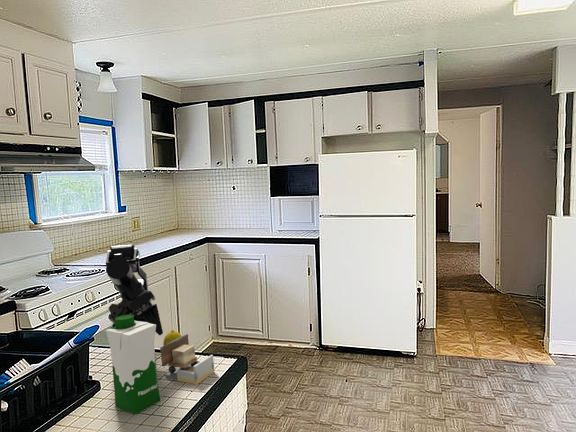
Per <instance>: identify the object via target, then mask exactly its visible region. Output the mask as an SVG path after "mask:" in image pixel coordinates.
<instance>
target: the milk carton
mask: <svg viewBox="0 0 576 432" xmlns="http://www.w3.org/2000/svg"><path fill="white" fill-rule="evenodd" d="M115 325H116V326H115V327H113V328H111V329H110V328H109V329H108V328H107V329H106V330H105V331H106V336H107V340H108V345H109V348H110V355H111V356H110V357H111V368H112V376H113V387H114V388H113V390H114V405H115V408H116V409H118V410H122V411H124V412H127V413H130V414H133V415H135V416H137V415H139V414H141V413H142V412H144V411H146V410H147V409H149V408H151V407H152V406H154V405H156V404H157V403H159V402H161V401H162V398H161V393H160V388H159V387H160V386H159V383H158V375H157V363H156V361H157V360H156V352H155V337H156V332H155V330H156V324H150V323H148V322H141V321H135V320H134V316H133V315H130V314H127V315H121V316H118V317H116V318H115Z"/></svg>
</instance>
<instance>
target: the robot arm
mask: <svg viewBox="0 0 576 432" xmlns="http://www.w3.org/2000/svg"><path fill="white" fill-rule="evenodd" d="M140 256H141V255H140V251H139V248H138V247H136V246H135V245H134V243H133V244H132V243H131V244H121V245H119V244H118V245H111V246H110V247H109V249H108V250H107V253H106V258H105V266H106V268H105V272H106V274H107V276H108V278H109V279H110V281H111V283H112V284H113V286H114V287H115V289H116V290H117V292H118V293H119V295H120V298H121V301H120V302H118V303H117V304H116V303H111V304H110V306H108V311H109V312H110V314H108V318H107V319H108V320H109V321H110V322H112V324H110V327H109V329H111V328H113V327H115V326H116V325H115V318H116V317H118V316H121V315H127V314H130V315H133V316H134V320H135V321H141V322H148V323H150V324H156V330H155V334H157V335H158V336H162V335H163V334H164V333H163V332H164V330H163V327H162V323H161V318H160V313H159V309H158V304H157V303H155V304H153V303H152V301H153V302H154V301H155V300H156V297H155V295H154V293H153V291H151V290H149V285H148V283H149V282H148V278H147V273H146V271H144V270H143V269H142V267H141V266H140ZM134 273H135V274H136V273H137V275H138V276H139V277H140V278H137V277H136V275H135V274H134Z"/></svg>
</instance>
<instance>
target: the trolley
mask: <svg viewBox="0 0 576 432" xmlns="http://www.w3.org/2000/svg"><path fill="white" fill-rule="evenodd" d="M181 336H182V337H180V338H178V339H176V340H174V341H172V342H170V343H168V344H166V345H165V346H164V345H163V346H161V347H159V349H160V360H161V367H165V366H167V365H168V366H169V368H168V372H170V373H174V372H175V371H176V367H180V369H179V370H185V368H186V367H187V366H189V365H190V364H191V366H192V367H193V366H194V365H196V364H198V363H197V360H198V357H197V356H196V351H195V349H196V348H195V345H192V344H191V345H190V344H189V343H190V342H189V334H187V333H186V334H184V335H181ZM185 371H186V370H185Z"/></svg>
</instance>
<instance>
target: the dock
mask: <svg viewBox="0 0 576 432" xmlns="http://www.w3.org/2000/svg"><path fill="white" fill-rule="evenodd" d="M214 360H215V359H214V355H213V354H210V355H208V356H207V357H206V358H204V359H203V360H201V359H197V363H198V364H196V365H194V366H193V367H192V366H191V364H190V365H189V366H187V367H186V368H185V370H186V371H185V370H179V369H180V367H175V368H176V371H175V372H174V373H170V372H169V371H168V372H167V373H165V374H164V379H166V378H167V379H166V380H171V379H172V380H171V381H177V382H182V383H183V382H184V383H187V384H194V385H197V384H199V383H201V382H202V381H203V380H205V379H207V378H208V377H209V376H211V375H213V374H214V373H215V361H214Z"/></svg>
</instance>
